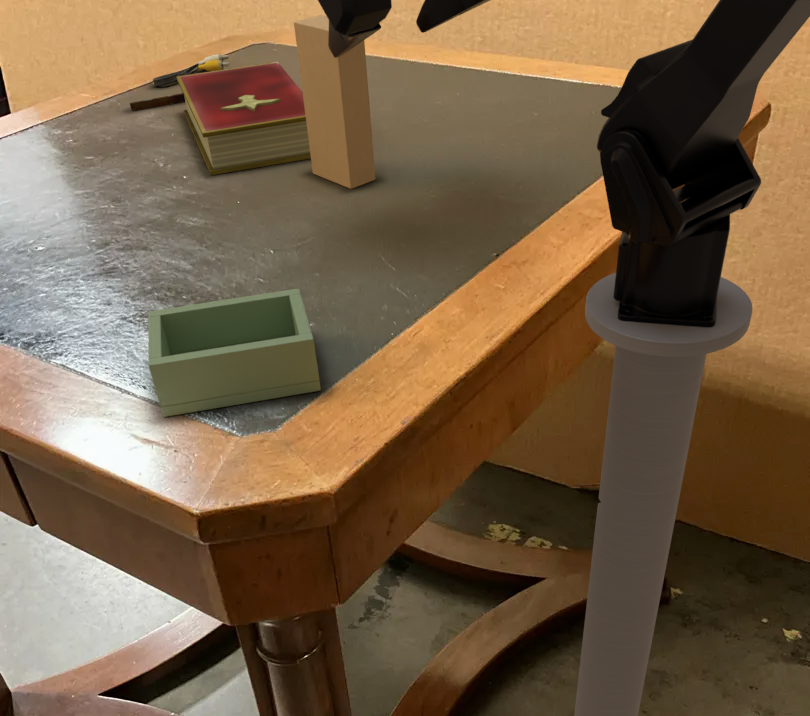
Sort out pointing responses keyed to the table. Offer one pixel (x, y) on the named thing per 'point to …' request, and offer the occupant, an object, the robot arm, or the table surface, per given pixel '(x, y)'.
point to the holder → (231, 352)
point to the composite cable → (194, 69)
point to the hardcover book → (246, 117)
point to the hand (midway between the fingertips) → (377, 39)
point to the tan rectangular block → (335, 106)
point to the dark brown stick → (157, 102)
